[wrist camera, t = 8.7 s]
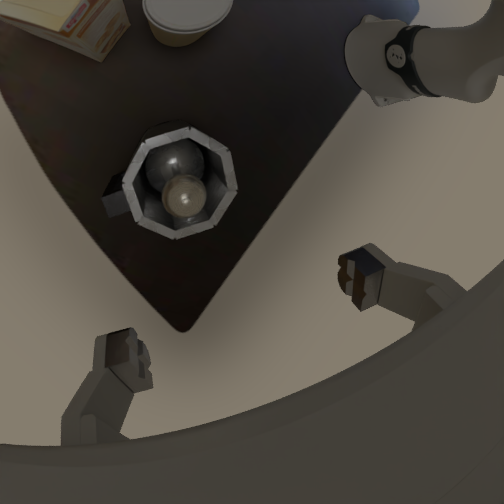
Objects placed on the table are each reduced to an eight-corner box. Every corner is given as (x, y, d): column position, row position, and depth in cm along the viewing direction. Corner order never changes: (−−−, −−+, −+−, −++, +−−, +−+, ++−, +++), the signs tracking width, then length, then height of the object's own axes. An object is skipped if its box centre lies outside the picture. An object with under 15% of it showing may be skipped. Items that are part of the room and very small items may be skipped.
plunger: (196, 129, 32) (221, 146, 21) (208, 183, 37) (238, 229, 25) (138, 147, 31) (128, 175, 19) (155, 200, 35) (157, 255, 24)
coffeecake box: (132, 23, 25) (117, -36, 9) (101, 64, 27) (57, 35, 11) (58, -6, 17) (9, -55, 1) (30, 34, 19) (-39, 7, 3)
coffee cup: (179, -13, 24) (190, -49, 14) (225, 22, 29) (253, -4, 19) (131, 30, 25) (122, 2, 16) (180, 64, 31) (189, 48, 21)
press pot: (201, 112, 35) (224, 116, 24) (217, 182, 42) (244, 218, 30) (107, 141, 33) (83, 162, 21) (130, 210, 39) (122, 258, 28)
